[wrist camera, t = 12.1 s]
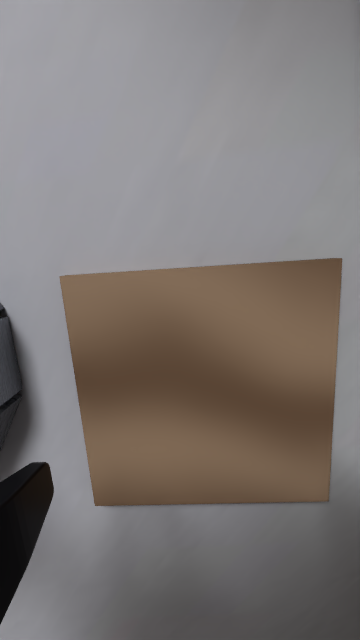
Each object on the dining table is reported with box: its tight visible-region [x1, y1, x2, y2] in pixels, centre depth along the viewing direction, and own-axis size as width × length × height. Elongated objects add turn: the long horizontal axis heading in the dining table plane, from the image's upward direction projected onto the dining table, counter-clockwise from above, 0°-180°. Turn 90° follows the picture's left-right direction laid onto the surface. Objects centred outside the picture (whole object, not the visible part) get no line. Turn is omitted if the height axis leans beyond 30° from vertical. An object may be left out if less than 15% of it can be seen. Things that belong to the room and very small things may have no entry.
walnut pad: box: [60, 258, 342, 506], centre depth 12 cm, size 10×10×1 cm
